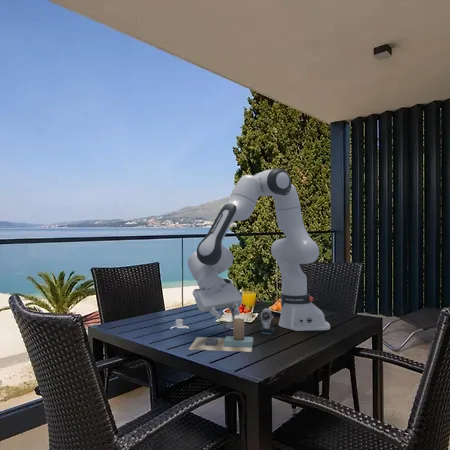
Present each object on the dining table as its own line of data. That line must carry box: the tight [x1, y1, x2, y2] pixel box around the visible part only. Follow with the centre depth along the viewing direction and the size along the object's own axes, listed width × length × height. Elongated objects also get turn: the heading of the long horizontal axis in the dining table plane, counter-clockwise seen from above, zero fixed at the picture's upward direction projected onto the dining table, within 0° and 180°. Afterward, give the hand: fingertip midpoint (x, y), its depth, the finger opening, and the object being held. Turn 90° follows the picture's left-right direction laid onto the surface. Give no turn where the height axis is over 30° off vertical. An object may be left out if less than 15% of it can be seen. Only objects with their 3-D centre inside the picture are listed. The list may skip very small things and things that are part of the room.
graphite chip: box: [205, 339, 218, 346], centre depth 140 cm, size 4×5×1 cm
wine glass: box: [225, 291, 243, 330], centre depth 169 cm, size 8×8×15 cm
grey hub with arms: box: [169, 318, 190, 330], centre depth 166 cm, size 9×8×4 cm
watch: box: [259, 308, 275, 335], centre depth 154 cm, size 6×8×11 cm
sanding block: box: [224, 317, 254, 349], centre depth 138 cm, size 10×6×9 cm, turn 83°
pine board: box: [188, 336, 254, 353], centre depth 139 cm, size 22×15×2 cm
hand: (228, 316), depth 142 cm, fingers open, 8 cm apart
